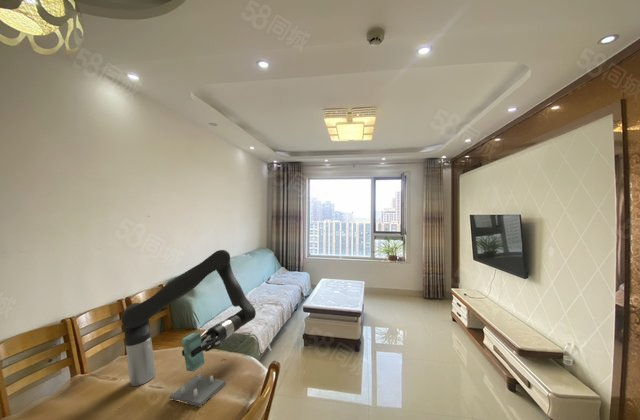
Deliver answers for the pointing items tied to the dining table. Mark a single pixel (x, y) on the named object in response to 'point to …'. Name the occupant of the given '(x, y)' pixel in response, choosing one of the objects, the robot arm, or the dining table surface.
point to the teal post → (188, 346)
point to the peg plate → (198, 390)
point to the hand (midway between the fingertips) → (187, 354)
